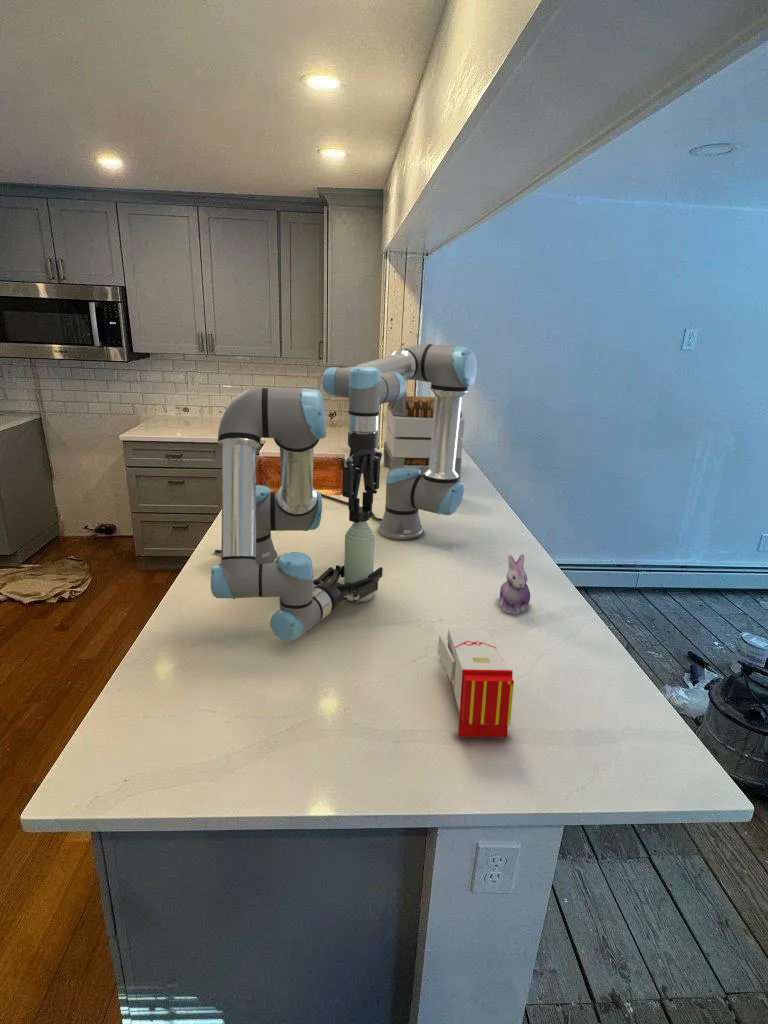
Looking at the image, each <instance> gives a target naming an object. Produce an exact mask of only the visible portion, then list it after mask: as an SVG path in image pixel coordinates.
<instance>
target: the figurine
mask: <svg viewBox="0 0 768 1024" xmlns="http://www.w3.org/2000/svg"><path fill="white" fill-rule="evenodd" d="M507 561H508V562H507V563H508V571H507V573H506V576H505V578H506V581H505V582H504V583H503V584H501V586H500V588H499V589H500V590H499V598H498V605H499V607H500V608H501V609H502V611H503V612H504V613H507V614H511V615H518V614H519V613H525V612H526V611H527V609H528V607H529V604H530V601H531V591H530V588H529V585H528V584H527V582H528V575H527V571H526V570H525V568H524V567H525V566H524V563H525V554H524V553H521V554H520V555H519V557H518V558H517V560H515V559H514V557H513V556H512V555H511V554H509V555H508V556H507Z"/></svg>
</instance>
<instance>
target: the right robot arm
mask: <svg viewBox="0 0 768 1024" xmlns="http://www.w3.org/2000/svg"><path fill="white" fill-rule="evenodd" d="M477 366H478V365H477V359H476V356H475V354H474V352H473V350H472V349H471V348H469V347H466V346H461V345H446V344H432V343H421V344H420V343H419V344H416V345H411V346H408V347H404V348H400V349H397V350H395V351H393V352H392V354H391V355H387V356H384V357H380V358H377V359H373V360H369V361H366V362H363V363H359V364H356V365H355V364H354V365H351V366H347V367H339V366H336V367H327V368H326V369H325V371H324V372H323V374H322V377H321V378H322V379H321V383H322V384H321V387H322V389H323V391H324V393H325V394H326V395H328V396H334V397H336V398H345V399H346V398H347V399H348V423H347V424H348V426H347V427H348V430H349V431H348V432H347V447H349V449H350V451H349V454H348V457H347V458H342V459H341V461H340V463H341V466H342V497H343V498H346V499H348V501H345V500H342V499H339V498H336V497H333V496H330V495H327V494H323V493H321V492H319V493H320V494H321V496H322V498H326V499H329V500H332V501H336V502H338V503H341V504H344V505H347V507H348V521H349V522H352V523H354V522H355V523H359V507H364V508H368V509H369V510H370V518H369V519H371V518H372V519H373V520H374V521H378V522H379V525H378V533H379V534H380V535H381V536H382V537H385V538H387V539H389V540H395V541H410V540H415V539H418V538H420V537H421V536H422V535H423V525H422V524H421V518H420V515H419V510H420V511H425V512H429V513H433V514H436V515H442V516H452V515H453V514H454V513H456V511H457V510H458V508H459V507H460V505H461V502H462V500H463V496H464V493H465V492H464V491H465V487H464V483H462V482H461V481H460V482H458V477H459V475H458V474H457V473H456V471H455V461H456V451H457V442H458V432H459V422H460V412H462V403H463V402H462V401H463V398H464V397H463V396H464V395H466V394H467V393H468V391H469V388H470V387H472V386H474V384H475V382H476V378H477V373H478V372H477V371H478V367H477ZM409 380H410V381H419V382H427V383H430V390H431V391H432V393H433V394H434V397H435V401H434V412H433V423H432V435H431V446H430V458H429V465H428V468H427V469H426V470H424V471H423V474H422V470H421V468H419V467H413V466H411V467H409V466H406V467H404V468H397V469H393V470H391V471H390V470H389V471H388V473H387V475H386V480H385V504H384V505H385V507H384V508H385V509H384V513H383V515H382V517H381V518H380V517H376V516H375V514H374V512H373V503H374V495H376V494H377V493H378V490H379V489H380V479H381V477H380V476H381V461H382V457H383V453H382V452H381V451H376V449H377V448H378V445H379V433H378V431H379V428H380V427H379V426H380V405H383V404H387V403H389V402H394V401H396V400H399V399H400V398H402V397H403V395H404V394H405V391H406V392H407V383H406V381H409ZM277 474H278V475H279V476H281V471H280V470H277ZM362 478H363V486H364V491H363V492H362V499H361V500H362V504H361V505H362V506H360V498H359V497H358V495H359V490H360V485H361V479H362Z"/></svg>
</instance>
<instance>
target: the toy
mask: <svg viewBox="0 0 768 1024" xmlns="http://www.w3.org/2000/svg"><path fill="white" fill-rule="evenodd" d="M446 640H447V643H446V641H445V639H444V636H443V635H442V634H439V637H438V646H437V656H438V657H439V659H440V661H441V663H442V666H443V668H444V670H445V672H446V674H447V677H448V679H449V681H450V684H451V687H452V690H453V693H454V697H455V701H456V705H457V708H458V711H459V714H458V715H459V716H458V730H457V731H458V732H457V737H458V738H508V731H509V726H510V725H511V717H512V707H513V697H514V696H513V695H514V684H515V680H514V679H513V673H514V671H513V670H512V669H508V667H507V665H506V662H505V661H504V659H503V658H502V655H501V653H500V651H499V649H498V647H497V643H496V639H495V637H494V635H493V634H491V632H490V631H489V629H467V628H466V629H465V628H463V629H461V628H460V629H459V628H448V630H447V639H446Z"/></svg>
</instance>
